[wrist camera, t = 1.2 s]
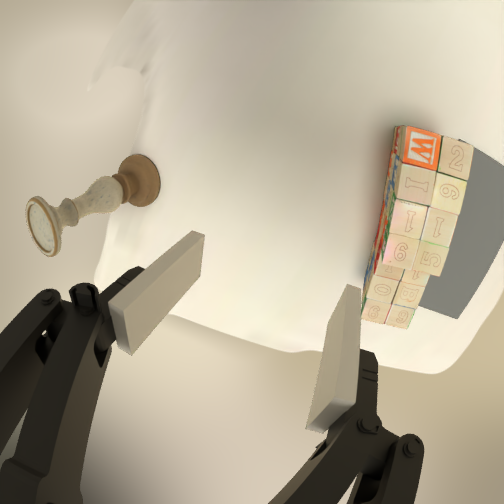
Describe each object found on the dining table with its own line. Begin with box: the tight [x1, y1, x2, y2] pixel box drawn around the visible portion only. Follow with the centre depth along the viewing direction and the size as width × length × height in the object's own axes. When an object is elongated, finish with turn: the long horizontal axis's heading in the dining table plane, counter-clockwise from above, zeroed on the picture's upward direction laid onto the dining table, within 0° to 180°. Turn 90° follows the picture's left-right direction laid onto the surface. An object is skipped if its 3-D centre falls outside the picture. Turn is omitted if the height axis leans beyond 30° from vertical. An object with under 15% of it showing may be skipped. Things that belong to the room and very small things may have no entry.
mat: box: [418, 139, 504, 319], centre depth 29 cm, size 24×13×1 cm, turn 169°
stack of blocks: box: [361, 125, 474, 329], centre depth 26 cm, size 21×6×12 cm, turn 178°
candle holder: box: [26, 155, 160, 257], centre depth 34 cm, size 9×9×20 cm
